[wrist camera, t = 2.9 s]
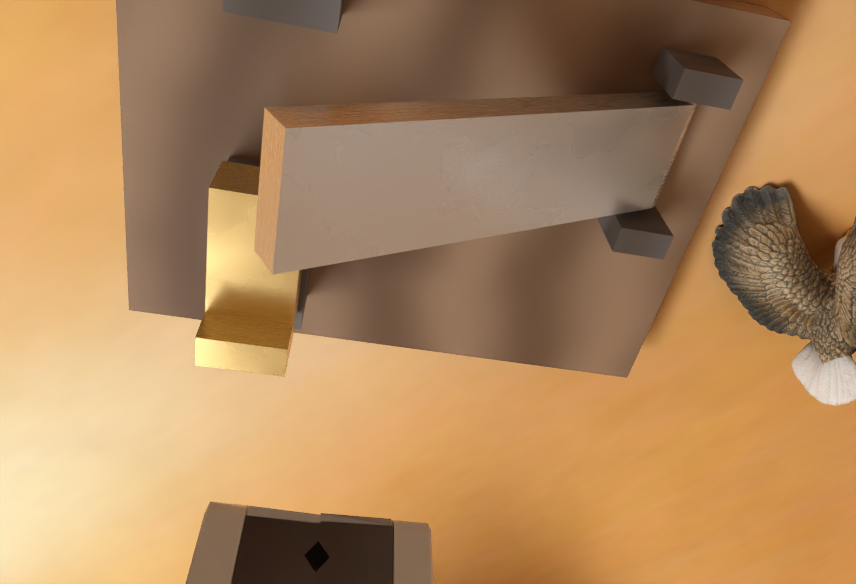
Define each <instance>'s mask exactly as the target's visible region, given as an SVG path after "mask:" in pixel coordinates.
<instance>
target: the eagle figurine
mask: <svg viewBox="0 0 856 584" xmlns="http://www.w3.org/2000/svg"><path fill="white" fill-rule="evenodd" d="M722 221H723V224H724V226H723V227H717V228H716V230H715V233H716V236H717V239H715V240H714V241H713V243H712V247H713V255H714V257H715V263H714V264H715V267H716V268H717V269H718V270H719V276H720V277H721V278H722V279H723V280H724V281H725V282H726V283H727V286H728V287H729V288H730V290H731V292H732V293H734V294H735V295H737V296H738V300H739V301H740V302H741V303H742V305H743V306H744V307H745V308H746V309H748V310H749V311H748V313H749V314H750V315H751V316H752V318H753V319H754V320H756V321H757V322H758V323H759V324H760V325H764V326H766V327H767V329H769V330H770V331H775V332H777V333H779V334H781V333H786V334H788V335H791V336H795V335H798V336H799V337H800V338H801V339H810V340H811V342H810V343H809V344H807V345H806V346H805V347H804V348H803V349H802V350H801V351H800V352H799V353H798V354H797V355H796V356H795V358H794V359H793V361H792V368H793V370H794V373H795V375H796V377H797V378H798V379H799V380H800V382H801V383H802V384H803V385H804V387H805V389H806V390H807V392H808V393H809V394H810V395H812V396H814V397H815V398H816V399H817V400H818V401H820V402H821V403H822V404H831V405H834V406H836V405H841V404H846V403H849V402H851V401H853V400H856V363H855V362H854V360H853V358H852V356H851V355H852V354H853V353H854V352H855V351H856V218H855V221H854V225H853V227H852V228H850V229H849V230H848V231H847V233H846V234H845V236H844V237H842V238H841V239H839V240H838V241H837V244H836V247H835V253H834V263H833V266H832V268H831V270H830V272H826V271H824V270H822V269H821V268H819V267H818V266H817V264H816V263H815V262H814V261H813V260H812V258H811V256H810V254H809V252H808V250H807V248H806V246H805V243H804V242H803V240H802V237H801V235H800V234H799V231H798V226H797V221H796V214H795V210H794V208H793V202H792V197H791V196H790V193H789V190H788V189H787V187H780V188H778V189H775V188H774V187H772V186H771V185H765V186H763V187H762V188H761V189H760V190H759V189H757V188H756V187H748V188H747V189H746V190H745V192H744V193H743V194H737V195H735V196H734V198H733V199H732V205H731V208H726V209H725V210H724V211H723V214H722Z"/></svg>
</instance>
